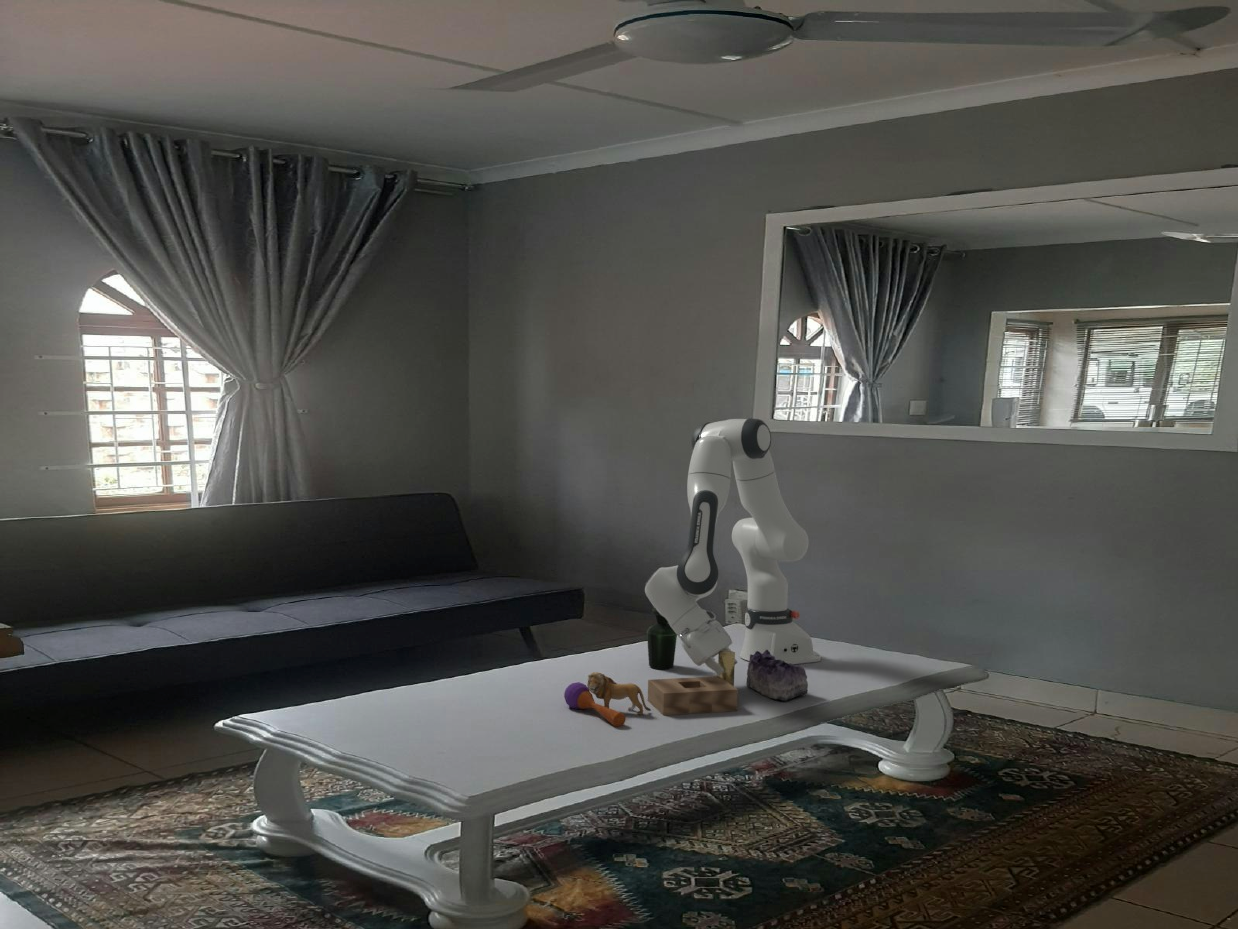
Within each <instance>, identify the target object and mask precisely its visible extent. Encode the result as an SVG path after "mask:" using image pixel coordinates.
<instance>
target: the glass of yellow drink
mask: <svg viewBox="0 0 1238 929" xmlns="http://www.w3.org/2000/svg"><path fill="white" fill-rule="evenodd" d="M717 656H718V660H717V663H718V664H719V665H722V667H723V668H724V669H725V672H724V673H723V674H721V675H720V677H721V678H722V679H724V680H725V681H727V682H728V683H729V684H731V685H732V686H734V687H735V665H736V664H735V659H736V652H735V651H732V650H731V651H720V652H719V654H718V655H717ZM717 676H719V675H717Z"/></svg>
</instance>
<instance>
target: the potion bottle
mask: <svg viewBox="0 0 1238 929" xmlns="http://www.w3.org/2000/svg"><path fill="white" fill-rule="evenodd" d="M651 614H652V615H655V619H656V623H655V624H652V625H651V626H649V627H648V628H647V630H646V637H647V639H646V640H647V652H648V653H647V655H648V666H649V667H650V668H651V669H654V670H661V671H663V670H666V671H667V670H670V669H673V667H674V664H675V654H676V646H677V637H678V635H677V634H676V633H675V632H674V630H673V629H672V628H671V627H670V625H669V623H668V621H667V619H666V618H665V617H663V616H662V615H661V614H660V613H659V612H658V611H657V610H656V608H655V607H653V608H652V611H651Z"/></svg>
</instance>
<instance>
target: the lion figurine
mask: <svg viewBox="0 0 1238 929" xmlns="http://www.w3.org/2000/svg"><path fill="white" fill-rule="evenodd" d="M587 676H588V679H587V683H586V684H587V685H586V686H587V687H588V689H589V691H590V693H591V694H592V695H595V697H596V698H597V699H598V700H599V699H600V700H603V704H604V705H603V706H604V707H607V708H610V701H611V700H624V699H626V698H628V699H629V701H630V702H631V706H629V707H627V710H628V711H632V712H633V711H634V710H635V708H636V707H637V708H638V709H639V711H637V712H636V714H637V716H642V715H643V713H644V710H646V711H650V712H651V708H650V707H648V706H647V705H646V703H645V698H644V694H643V692H642V690H641V688H640V687H639V685H637V684H635V683H632V682H631V683H617V682H615V681H614V680H613V679H612V678H611V677H608V676H606V675H605V674H603V673H601V672H598V671H595V672H592V673H590V674H588V675H587ZM638 695H639V697H640V699H641V702H642V703H641V702H640V700H639V697H638Z"/></svg>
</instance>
